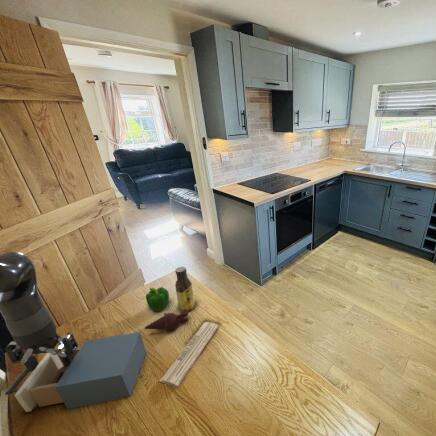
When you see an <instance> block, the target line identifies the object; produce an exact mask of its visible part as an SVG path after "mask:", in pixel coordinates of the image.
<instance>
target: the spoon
mask: <svg viewBox="0 0 436 436" xmlns="http://www.w3.org/2000/svg"><path fill="white" fill-rule="evenodd" d="M68 367H69V365H68V366H63V367H61V368H60V369H59V370H58V371H57V375H56V376H55V378H54V379H53V380H52V382H51V383H50V384H54V383H58V382H59V380H60V379H61V377H62V376H63V374H64V373H65V371H66V370H67V368H68Z"/></svg>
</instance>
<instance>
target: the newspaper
mask: <svg viewBox="0 0 436 436" xmlns="http://www.w3.org/2000/svg"><path fill="white" fill-rule="evenodd" d="M202 324H203V325H202ZM202 324H201V325H200V327H199V328H198V329H199V330H198V329H197V330H196V332H195V333H194V335H193V336H192V337H191V338H190V339H189V341H188V342H187V344H186V345H185V346H184V348H183V349H182V350H181V351H180V353H179V354H178V356H176V358H175V359H174V360H173V362H172V363H171V365H170V366H169V367H168V368H167V370H166V371H165V372H164V373H163V375H162V377H160V379H159V380H158V382H159V383H163V384H166V385H168V386H171V387H175V388H178V387H179V386H180V384H181V383H182V382H183V380H184V379H185V377H186V376H187V373H189V371H190V370H191V368H192V367H193V365H194V364H195V362H196V361H197V360H198V358H199V357H200V355H201V353H202V352H203V351H204V349H205V347H206V346H207V345H208V343H209V341H210V340H211V338H212V337H213V335H214V334H215V333H216V331H217V330H218V328H219V324H217V323H214V322H211V321H205V322H203V323H202Z"/></svg>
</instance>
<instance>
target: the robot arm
mask: <svg viewBox="0 0 436 436" xmlns="http://www.w3.org/2000/svg"><path fill="white" fill-rule="evenodd" d="M0 314H1V316H2V318H3V319H4V322H5V325H6V328H7V330H8V332H9V333H10V336H11V337H12V338H13V340H12V341H10V342H9V344H7V345H6V347H5V348H4V349H5V351H6V353H7V355H8V357H9V359H10V361H11V363H14V364H15V363H17V362H20V363H21V364H24V366H25V368H27V369H29V371H30V372H33V371H34V370H35V368H36V367H37V366H38V364H39V362H38V360H37V358H36V356H35V355H41V354H47V353H50V354H52V355H56V354H57V355H59V356H61V357H62V360H63V362H64V364H65V366H68V365H70V363H71V362H72V360H73V359H74V357H73V353H74V352H75V350H76V349H77V348H79V345H78V341H77V340H76V338H75V336H74V334H73V333H72V332H67V333H66V335H59V334H58V333H57V326H56V324H55V322H54V321H55V320H54V319H53V317H52V315H51V313H50V310H49V308H48V306H47V305H45V303H44V300H43V298H42V296H41V293H40V292H39V289H38V280H37V273H36V268H35V264H34V261H32V259H31V258H30V257H28V256H27V255H26V254H25V253H22V252H19V251H6V252H2V253H0ZM56 346H57V347H56ZM55 348H56V349H55ZM61 350H65V351H64V352H63V351H61ZM24 351H25V352H24Z"/></svg>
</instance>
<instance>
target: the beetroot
mask: <svg viewBox="0 0 436 436" xmlns="http://www.w3.org/2000/svg"><path fill="white" fill-rule="evenodd" d="M188 315H189V312H182V311H181V312H180V313H179V314H176V313H175V312H167V313H166V312H165V313H164V314H163V316H161V317H160V318H157V319H156V320H154V321H153V322H151V323H149V324H147V325H146V326H145V327H144V330H158V331H159V330H160V331H165V332H166V333H168V331H169V332H170V331H173V330H175V328H177V326H179V325H180V324H184V323H187V322H189V318H188Z"/></svg>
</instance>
